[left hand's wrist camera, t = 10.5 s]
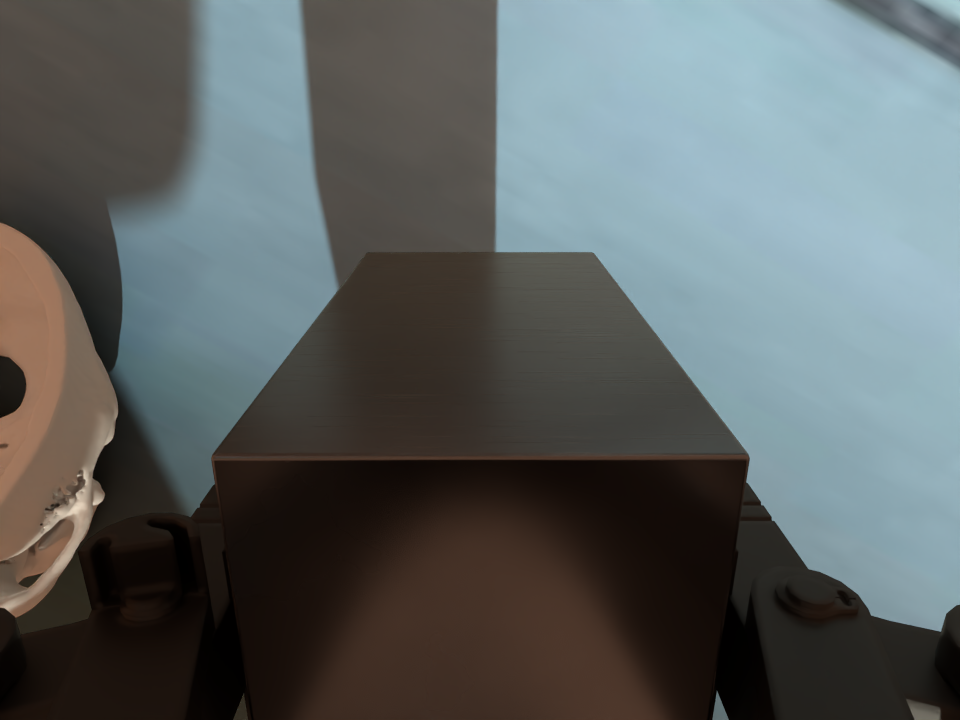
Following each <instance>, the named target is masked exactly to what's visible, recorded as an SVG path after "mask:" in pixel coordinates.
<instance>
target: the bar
mask: <svg viewBox="0 0 960 720" xmlns="http://www.w3.org/2000/svg"><path fill="white" fill-rule="evenodd" d="M211 460H212V467H213V473H214V480H215V486H216V492H217V499H218V505H219V512H220V518H221V525H222V531H223V538H224V544H225V551H226V557H227V564H228V570H229V577H230V583H231V590H232V596H233V602H234V609H235V615H236V622H237V628H238V635H239V641H240V648H241V654H242V661H243V667H244V674H245V680H246V687H247V693H248V700H249V706H250V712H251V719H252V720H709V718H710V711H711V705H712V698H713V692H714V685H715V679H716V672H717V666H718V660H719V653H720V647H721V640H722V634H723V627H724V621H725V614H726V608H727V602H728V595H729V589H730V582H731V576H732V569H733V563H734V557H735V550H736V544H737V537H738V531H739V524H740V518H741V511H742V505H743V499H744V492H745V486H746V479H747V473H748V466H749V460H750V458H749V455H748V453H747V452H746V451H745V449H744V448H743V447H742V445H741V444H740V443H739V441H738V440H737V439H736V438H735V436H734V435H733V434H732V432H731V431H730V430H729V428H728V427H727V426H726V425H725V423H724V422H723V421H722V419H721V418H720V417H719V415H718V414H717V413H716V412H715V410H714V409H713V408H712V406H711V405H710V404H709V402H708V401H707V400H706V398H705V397H704V396H703V395H702V393H701V392H700V391H699V389H698V388H697V387H696V385H695V384H694V383H693V382H692V380H691V379H690V378H689V376H688V375H687V374H686V372H685V371H684V370H683V369H682V367H681V366H680V365H679V363H678V362H677V361H676V359H675V358H674V357H673V356H672V354H671V353H670V352H669V350H668V349H667V348H666V346H665V345H664V344H663V343H662V341H661V340H660V339H659V337H658V336H657V335H656V333H655V332H654V331H653V330H652V328H651V327H650V326H649V324H648V323H647V322H646V320H645V319H644V318H643V317H642V315H641V314H640V313H639V311H638V310H637V309H636V307H635V306H634V305H633V303H632V302H631V301H630V300H629V298H628V297H627V296H626V294H625V293H624V292H623V290H622V289H621V288H620V287H619V285H618V284H617V283H616V281H615V280H614V279H613V277H612V276H611V275H610V274H609V272H608V271H607V270H606V268H605V267H604V266H603V264H602V263H601V262H600V261H599V259H598V258H597V257H596V255H595V254H594V253H592V252H368V253H366V255H365V256H364V257H363V258H362V260H361V261H360V262H359V264H358V265H357V266H356V268H355V269H354V270H353V271H352V273H351V274H350V275H349V277H348V278H347V279H346V281H345V282H344V283H343V285H342V286H341V287H340V288H339V290H338V291H337V292H336V294H335V295H334V296H333V298H332V299H331V300H330V302H329V303H328V304H327V305H326V307H325V308H324V309H323V311H322V312H321V313H320V315H319V316H318V317H317V319H316V320H315V321H314V322H313V324H312V325H311V326H310V328H309V329H308V330H307V332H306V333H305V334H304V336H303V337H302V338H301V339H300V341H299V342H298V343H297V345H296V346H295V347H294V349H293V350H292V351H291V352H290V354H289V355H288V356H287V358H286V359H285V360H284V362H283V363H282V364H281V366H280V367H279V368H278V369H277V371H276V372H275V373H274V375H273V376H272V377H271V379H270V380H269V381H268V383H267V384H266V385H265V386H264V388H263V389H262V390H261V392H260V393H259V394H258V396H257V397H256V398H255V400H254V401H253V402H252V403H251V405H250V406H249V407H248V409H247V410H246V411H245V413H244V414H243V415H242V417H241V418H240V419H239V420H238V422H237V423H236V424H235V426H234V427H233V428H232V430H231V431H230V432H229V433H228V435H227V436H226V437H225V439H224V440H223V441H222V443H221V444H220V445H219V447H218V448H217V449H216V450H215V452H214V453H213V454H212V458H211Z"/></svg>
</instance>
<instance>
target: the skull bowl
mask: <svg viewBox="0 0 960 720" xmlns="http://www.w3.org/2000/svg"><path fill="white" fill-rule="evenodd" d="M0 356H5V357H9V358H11V359H12V360H13V361H14V362H15V363H16V364H17V365H18V366H19V367H20V368H21V369H22V370H23V372H24V375H25V378H26V393H25V396H24V399H23V402H22V404H21V405H20V407H19V408H18V409H17V410H16V411H15V412H13V413H11V414H9V415H7V416H4V417H2V418H0V608H5V609H6V610H7V611H9V612H10V613H11V614H12V615H14V616H15V618H16V617H18V616H20V615H22V614H24V613H26V612H27V611H29V610H30V609H32V608H33V607H34V606H36V605H37V604H38V603H39V602H40V601H41V600H42V599H43V598H44V597H45V596H46V595H47V594H48V593H49V591H50V590H51V589H52V588H53V586H54V585H55V583H56V581H57V579H58V577H59V576H60V575H61V573H62V572H63V570H64V569H65V568H66V566H67V565H68V563H69V562H70V560H71V559H72V557H73V555H74V553H75V550H76V549H77V547H78V546H79V544H80V542H81V541H82V540H83V539H84V538H85V536H86V534H87V532H88V530H89V527H90V524H91V521H92V518H93V515H94V513H95V510H96V508H97V506H98V504H99V503H101V502H102V501H103V499H104V496H105V493H104V491H103V490H102V488H101V485H100V483H99V482H98V481H96V480H94V479H93V478H92V477H93V470H94V467H95V464H96V462H97V459H98V456H99V454H100V452H101V451H102V449H103V447H104V446H105V445H107V444H108V443H109V442H110V441H111V440H112V439H113V436H114V432H115V422H116V418H117V416H118V402H117V398H116V394H115V391H114V388H113V386H112V383H111V381H110V379H109V375H108V373H107V371H106V369H105V367H104V365H103V363H102V361H101V359H100V357H99V356H98V354H97V352H96V350H95V347H94V344H93V341H92V337H91V334H90V332H89V329H88V326H87V324H86V321H85V318H84V316H83V313H82V310H81V308H80V305H79V304H78V302H77V300H76V298H75V295H74V293H73V291H72V289H71V287H70V285H69V283H68V281H67V280H66V278H65V277H64V275H63V274H62V272H61V271H60V269H59V268H58V266H57V265H56V264H55V263H54V261H53V260H52V259H51V258H50V257H49V256H48V254H47V253H46V252H44V251H43V250H42V248H41V247H40V246H38V245H37V244H36V243H35V242H34V241H32V240H31V239H30V238H29V237H27V236H26V235H24V234H22V233H21V232H19V231H17V230H16V229H14V228H12V227H10V226H8V225H6V224H3V223H0ZM43 572H44V573H43ZM40 573H43V574H42V575H41V576H40V577H39V578H38V579H37V581H36V582H35V583H34V584H33V585H31V586H30V587H28V588H27V587H24V586H21V585H20V584H18V583H19V582H20V581H21V580H22V579H23V578H25V577H28V576H33V575H37V574H40Z"/></svg>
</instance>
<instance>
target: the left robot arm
mask: <svg viewBox="0 0 960 720" xmlns="http://www.w3.org/2000/svg"><path fill="white" fill-rule="evenodd" d="M771 518H772V517H771V516H770V514H769V513H768V511H767V510H766V509H765V507H764V506H761V501H760V500H759V499H758V497H757V496H756V494H755V493H754V492H753V490H752V489H751V487H750V486H749V484H748V483H746V486H745V492H744V499H743V505H742V511H741V518H740V524H739V531H738V537H737V544H736V550H735V557H734V563H733V569H732V576H731V582H730V589H729V595H728V602H727V608H726V614H725V621H724V627H723V634H722V640H721V647H720V653H719V660H718V666H717V672H716V679H715V685H714V692H713V698H712V705H711V711H710V718H709V720H712V718H713V711H714V705H715V699H716V692H717V691H718V694H719V696H720V699H721V701H722V704H723V706H724V709H725V711H726V714H727V716H728V718H729V720H960V605H957V606H955V607H954V608H953V609H952V610H950V611H949V612H948V613H947V614H946V617H945V620H944V624H943V627H942V631H941V632H939V631H934V630H930V629H925V628H920V627H916V626H911V625H906V624H902V623H897V622H892V621H888V620H885V619H881V618H878V617H874V616H871V615H870V612H869V610H868V608H867V607H866V605H865V604H864V603H863V601H862V600H861V598H860V597H859V595H858V594H856V593H855V592H854V591H852V590H851V589H850V588H848V587H847V586H846V585H844V584H843V583H842V582H840V581H838V580H836V579H834V578H832V577H829V576H827V575H825V574H823V573H821V572H817V571H813V570H809V569H808V568H807V567H806V565H805V564H804V562H803V561H802V560H801V558H800V557H799V555H798V554H797V552H796V551H795V550H794V548H793V547H792V545H791V544H790V543H789V541H788V540H787V538H786V537H785V535H784V534H783V533H782V531H781V530H780V528H779V527H778V526H777V524H776V523H775V521H772V519H771ZM78 555H79V559H80V563H81V567H82V571H83V575H84V579H85V583H86V588H87V592H88V596H89V600H90V604H91V608H92V611H91V613H90V616H89V618H88V619H86V620H83V621H79V622H76V623H72V624H68V625H63V626H58V627H54V628H49V629H44V630H40V631H35V632H30V633H26V634H21V635H20V632H19V629H18V625H17V622H16V618H15V616H14V615H12V614H11V613H10V612H9V611H7V610H6V609H5V608H0V720H233V718H234V716H235V713H236V711H237V708H238V706H239V703H240V701H241V698H242V696H243V693H244V696H245V702H246V708H247V715H248V720H252V719H251V712H250V706H249V700H248V693H247V687H246V680H245V674H244V667H243V661H242V654H241V648H240V641H239V635H238V628H237V622H236V615H235V609H234V602H233V596H232V590H231V583H230V577H229V570H228V564H227V557H226V551H225V544H224V538H223V531H222V525H221V518H220V512H219V505H218V499H217V492H216V486H215V485H213V486H212V488H211V489H210V491H209V492H208V494H207V495H206V496H205V498H204V499H203V501H202V502H201V504H200V508H197V509H196V511H195V512H194V514H193V515H192V516H191V518H190V517H188V516H184V515H180V514H176V513H149V514H145V515H140V516H135V517H131V518H127V519H125V520H122V521H120V522H117V523H115V524H112V525H110V526H107V527H106V528H104V529H103V530H101V531H99V532H98V533H96V534H95V535H93V536H92V537H90V538H89V539H88V540H87V541H86V543H85V544H84V545H83V546H82V547H81V549H80V550H79V551H78Z"/></svg>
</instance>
